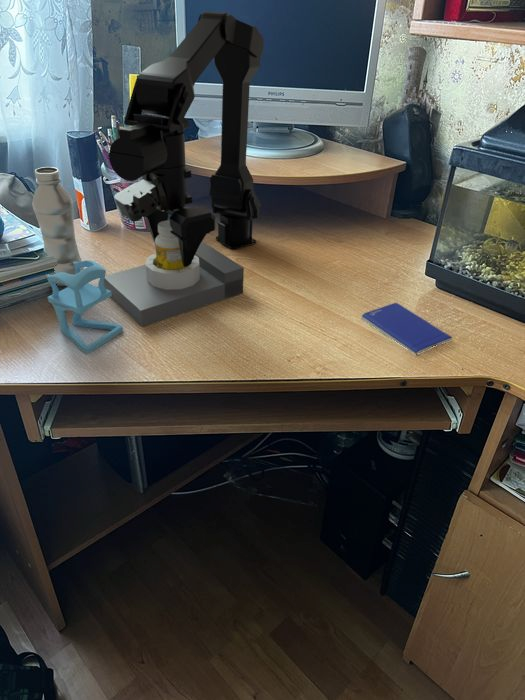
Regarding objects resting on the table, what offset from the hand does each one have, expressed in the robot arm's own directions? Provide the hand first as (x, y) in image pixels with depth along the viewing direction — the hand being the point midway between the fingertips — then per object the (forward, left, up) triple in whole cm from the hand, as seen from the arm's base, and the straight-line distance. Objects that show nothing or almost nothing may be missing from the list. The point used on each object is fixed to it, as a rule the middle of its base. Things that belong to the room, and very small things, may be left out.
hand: (172, 256), depth 93 cm
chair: (+18, +4, -7) cm, 20 cm away
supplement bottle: (0, 0, -4) cm, 4 cm away
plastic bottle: (+14, -14, -7) cm, 21 cm away
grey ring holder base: (0, 0, -7) cm, 7 cm away
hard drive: (-25, +32, -8) cm, 41 cm away
